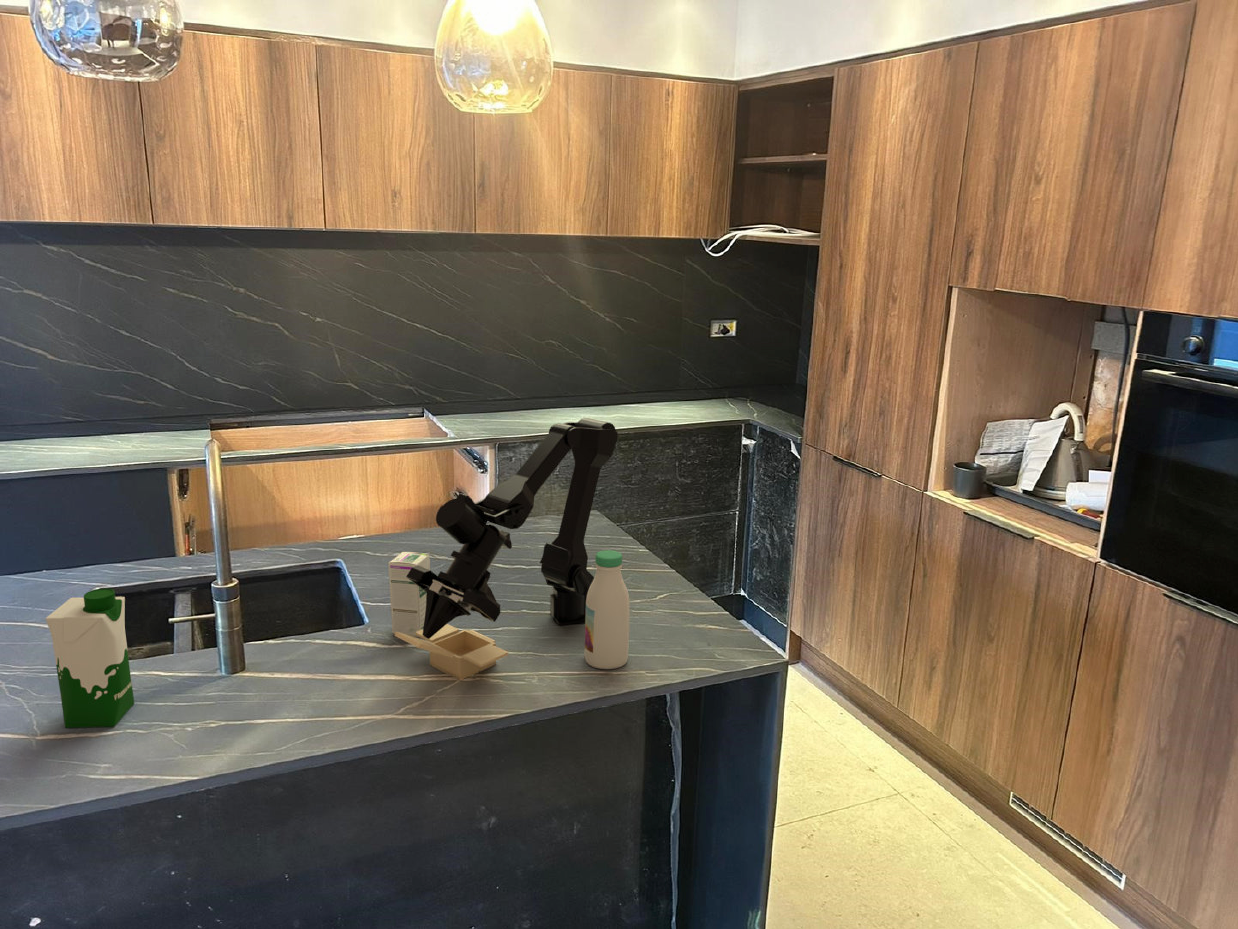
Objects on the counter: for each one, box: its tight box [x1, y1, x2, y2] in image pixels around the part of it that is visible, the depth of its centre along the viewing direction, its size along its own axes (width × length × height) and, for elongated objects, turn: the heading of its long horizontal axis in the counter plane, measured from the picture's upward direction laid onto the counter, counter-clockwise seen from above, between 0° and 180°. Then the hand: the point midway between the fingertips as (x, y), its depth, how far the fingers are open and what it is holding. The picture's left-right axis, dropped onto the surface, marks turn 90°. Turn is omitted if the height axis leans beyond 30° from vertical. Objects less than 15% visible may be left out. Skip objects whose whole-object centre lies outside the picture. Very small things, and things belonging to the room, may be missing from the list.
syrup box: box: [387, 551, 431, 638], centre depth 168 cm, size 6×6×14 cm
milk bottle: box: [584, 549, 630, 670], centre depth 158 cm, size 8×8×20 cm
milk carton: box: [45, 588, 135, 729], centre depth 136 cm, size 9×9×20 cm
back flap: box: [393, 632, 454, 658], centre depth 149 cm, size 1×6×8 cm
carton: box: [415, 623, 509, 681], centre depth 157 cm, size 9×17×4 cm, turn 50°
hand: (425, 637), depth 149 cm, fingers closed
